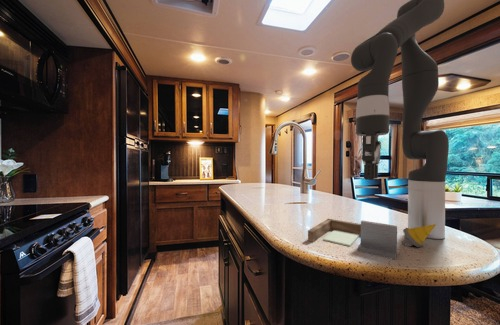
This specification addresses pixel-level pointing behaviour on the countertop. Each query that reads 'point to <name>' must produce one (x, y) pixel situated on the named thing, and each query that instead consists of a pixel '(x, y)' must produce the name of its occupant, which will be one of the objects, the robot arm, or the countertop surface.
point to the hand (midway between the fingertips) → (371, 178)
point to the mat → (341, 237)
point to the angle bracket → (378, 239)
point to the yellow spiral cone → (417, 235)
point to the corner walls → (332, 224)
